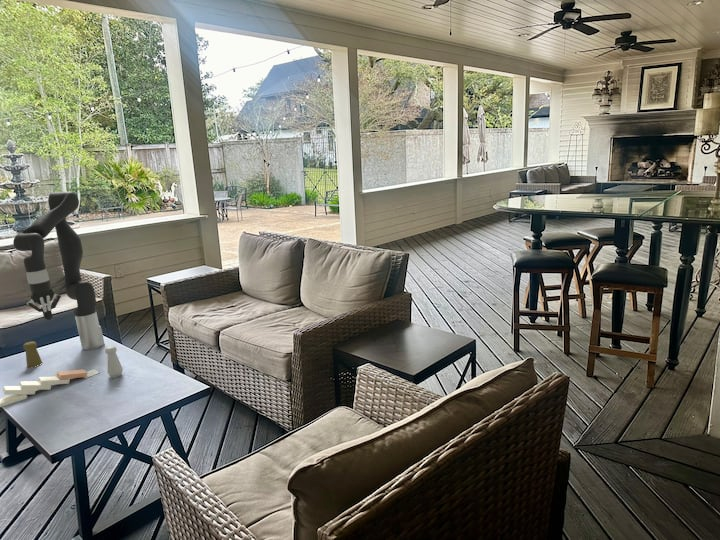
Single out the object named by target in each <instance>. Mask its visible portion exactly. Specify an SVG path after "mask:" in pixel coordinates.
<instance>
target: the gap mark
mask: <svg viewBox="0 0 720 540" xmlns="http://www.w3.org/2000/svg"><path fill="white" fill-rule="evenodd" d="M86 372H87V377H82V378H84V379H87V378H90V377H92V376H95V375H98V373H99V374H100V372H99V371H97V370H96V369H95V368H93V369H90V370H88V371H86Z"/></svg>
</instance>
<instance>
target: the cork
mask: <svg viewBox="0 0 720 540" xmlns="http://www.w3.org/2000/svg"><path fill="white" fill-rule="evenodd" d="M22 347H23V350H24V351H25V358H26V359H25V361H26V368H28V369H31V367H33V368H36V367H35V366H37V365H39V366H41V365H42V364H43V361H42V359H41V356H40V353H39V351H38V349H37V347H38V344H37V342H36V341H28V342H25V343H24V344H23V345H22ZM41 363H42V364H41ZM40 364H41V365H40ZM37 367H38V366H37Z"/></svg>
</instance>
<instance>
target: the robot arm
mask: <svg viewBox="0 0 720 540" xmlns="http://www.w3.org/2000/svg"><path fill="white" fill-rule="evenodd" d="M47 203H48V208H49V211H48V212H46V213H44V214H41V215H40V216H38V218H36V220H35V221H34V222H32V224H31V225H30V226H28V227H26V228H25V229H23V230H21V231H20V232H18V233H17V234H16V235H15V237H14V238H13V242H12V243H13V247H14V248H15V249H16V250H17V251H19V252H29V251H30V252H31V253H30V254H31V255H29V256H27V257H25V258H24V259H23V265H24V269H25V273H26V278H27V283H28V287H29V289H30V295H31V297H30V300H29V301H27V302H26V305H27V306H29V307H30V308H32V309H34V310H35V311H37V312H38V313H42V315H43V318H44V319H45V320H47V321H50V320H52V318H53V313H52V310H53V309H55V308H56V307H57V305H58V304H59V301H60V299H61V297H62V296H61V295H60V294H57V293H55V292H54V290H53V288H52V284H51V281H50V280H51V279H50V277H49V276H50V275H49V273H48V270H47V268H46V263H45V260H44V259H45V258H44V256H45V238H46V237H48V235H50V233H51V232H52V231H53V230H54V229H55V231H56V237H57V243H58V248H59V253H60V257H61V262H62V263H61V264H62V267H63V273H64V286H65V293H66V295H67V297H68V298H69V299H71V300H74V301H76V304H77V305H76V306H77V307H75V309H73V315H74V318H75V321H76V327H77V332H78V336H79V340H80V345H81V349H82V350H83V349H85V350H84V351H90V350H89V349H91V350H94V349H95V348H96V349H99V348H101V347H102V346H104V345H105V344H106V343H105V340H104V335H103V330H102V326H101V325H100V322H99V318H98V314H97V298H96V292H95V288H94V285H93V284H92V283H91V282H89V281H83V280H82V275H81V272H80V271H81V269H80V267H81V264H82V260H83V255H84V251H83V245H82V240H81V238H80V236H79V235H78V234H77V232H76V231H75V230H74V229H73V228H72V227H71V225H70V224H69V223H68V221H67V217H69V216H70V215H71V214H72V213H74V212H75V211H76V210H77V209H78V207H79V205H80V200H79V197H78V195H77V194H76V193H75V192H73V191H55V192H51V193H50V194H48V199H47ZM51 301H52V302H51ZM35 303H36V304H38V305H39V306H40V307H38V306H37V305H35ZM100 346H101V347H100Z"/></svg>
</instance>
